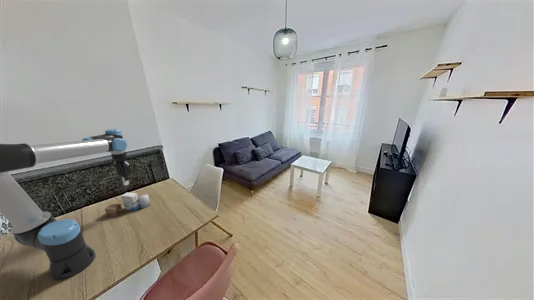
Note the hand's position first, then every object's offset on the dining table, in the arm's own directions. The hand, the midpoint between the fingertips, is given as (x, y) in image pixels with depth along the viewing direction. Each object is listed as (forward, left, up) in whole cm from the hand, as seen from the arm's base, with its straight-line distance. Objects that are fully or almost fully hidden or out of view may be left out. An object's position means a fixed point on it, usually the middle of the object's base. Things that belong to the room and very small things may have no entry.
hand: (126, 184), depth 119 cm
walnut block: (-8, +6, -20) cm, 22 cm away
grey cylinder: (+5, -6, -20) cm, 21 cm away
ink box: (0, 0, -20) cm, 20 cm away
